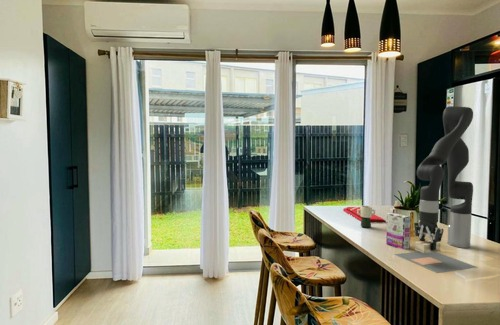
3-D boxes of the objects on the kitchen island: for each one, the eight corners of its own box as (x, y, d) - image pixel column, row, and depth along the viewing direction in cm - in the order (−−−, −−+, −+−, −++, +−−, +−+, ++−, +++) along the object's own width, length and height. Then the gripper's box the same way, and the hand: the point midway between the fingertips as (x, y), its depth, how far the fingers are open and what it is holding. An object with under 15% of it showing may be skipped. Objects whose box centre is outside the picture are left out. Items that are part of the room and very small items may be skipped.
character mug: (373, 226, 214) (374, 205, 213) (376, 228, 207) (376, 208, 206) (355, 225, 215) (356, 205, 214) (357, 228, 208) (358, 207, 207)
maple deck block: (430, 247, 151) (431, 240, 150) (440, 251, 146) (440, 243, 146) (414, 249, 148) (415, 241, 148) (423, 253, 143) (424, 244, 143)
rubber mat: (394, 255, 157) (394, 253, 157) (430, 251, 163) (430, 249, 163) (437, 274, 134) (437, 272, 134) (477, 268, 141) (477, 266, 141)
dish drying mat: (363, 223, 222) (363, 218, 222) (342, 211, 263) (342, 206, 263) (386, 223, 223) (386, 217, 223) (362, 211, 264) (362, 206, 264)
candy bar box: (410, 249, 167) (411, 216, 166) (403, 250, 165) (404, 217, 164) (392, 243, 177) (393, 212, 176) (385, 244, 175) (386, 213, 174)
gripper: (449, 213, 140) (448, 252, 141) (422, 207, 154) (421, 243, 155) (435, 213, 138) (434, 254, 139) (409, 207, 152) (408, 244, 152)
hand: (427, 248), depth 147 cm, fingers closed on maple deck block, 5 cm apart
